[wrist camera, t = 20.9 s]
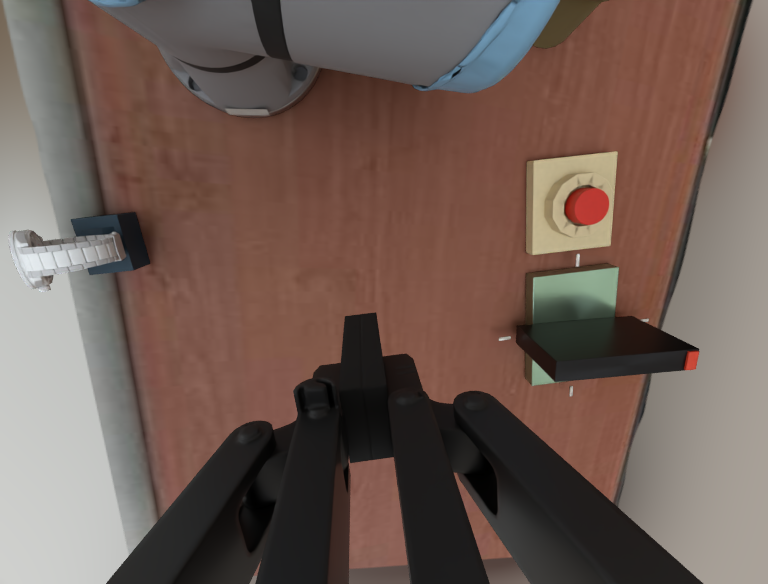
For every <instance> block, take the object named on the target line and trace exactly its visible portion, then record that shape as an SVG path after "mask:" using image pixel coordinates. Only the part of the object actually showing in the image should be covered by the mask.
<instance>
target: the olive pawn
mask: <svg viewBox="0 0 768 584" xmlns="http://www.w3.org/2000/svg"><path fill="white" fill-rule="evenodd" d="M604 1H608V0H560V2H559V4H558V5H557V7H556V9H555V11H554V12H553V14H552V16H551V18H550V19H549V21H548V23H547V24H546V26H545V27H544V29H543V30H542V32H541V33H540V35H539V37H538V38H537V40H536V41H535V42H534V44H533V45H534V46H535V47H539V48H550V47H554V46H556V45H558V44H559V43H561V42H563V41H564V40H565V39H566V38H567V37H568V36H569V35H570V34H571V33H572V32H573V31H574V30H575V29H576V28H577V27H578V26H579V25H580V24H581V23H582V22H583V21H584V19H585V18H586V17H587V16H588V15H589V14H590V13H591V12H592V11H593V10H594V9H595V8H596V7H597V6H598V5H599V4H600V3H601V2H604Z"/></svg>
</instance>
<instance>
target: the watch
mask: <svg viewBox="0 0 768 584" xmlns="http://www.w3.org/2000/svg"><path fill="white" fill-rule="evenodd" d="M71 222H72V225H73V228H74V231H75V234H76V236H77V237H72V238H63V239H62V240H61V239H55V240H48V241H43V239H42V237H40V236H38V235H37V234H36V233H35V232H34V231H31V230H25V231H10V233H9V247H10V251H11V255H12V258H13V261H14V265H15V266H16V268H17V270H18V272H19V274H20V276H21V278H22V279H23V281H24V282H25V284H26V285H27V286H28V287H30V288H32V289H35V288H37V287H38V289H39V292H44V291H48V290H51V289H50V286H49V284H51V283H52V280H53V275H55V274H62V273H67V272H73V271H78V270H82V269H86V268H88V271H89V274H90V275H94V274H103V273H113V272H122V271H131V270H135V269H138V268H140V267H143V266H146V265H148V264H150V261H149V257H148V254H147V250H146V247H145V244H144V240H143V237H142V233H141V230H140V226H139V223H138V220H137V216H136V213H135V212H132V213H122V214H112V215H102V216H93V217H85V218H78V219H71ZM74 238H75V240H74ZM62 241H63V242H62ZM75 241H76V242H75ZM67 243H68V244H67ZM71 262H72V263H71ZM72 264H73V265H72ZM82 264H83V265H82ZM83 267H84V268H83Z"/></svg>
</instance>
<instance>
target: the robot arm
mask: <svg viewBox="0 0 768 584" xmlns="http://www.w3.org/2000/svg"><path fill="white" fill-rule="evenodd" d="M89 1H90V2H92V3H93V4H95V5H96V6H98V7H99V8H101V9H102V10H104V11H105V12H107V13H108V14H110V15H111V16H113V17H114V18H116V19H117V20H119V21H120V22H122V23H123V24H125V25H127V26H128V27H130V28H131V29H133V30H134V31H136V32H137V33H139V34H140V35H142V36H143V37H145V38H146V39H148V40H149V41H151V42H152V43H154V44H155V45H157V46H158V48H159V50H160V52H161V54H162V56H163V58H164V60H165V61H166V63H167V65H168V66H169V68H170V69H171V70H172V72H173V73H174V74H175V76H176V77H177V78H178V79H179V80H180V82H181V83H182V84H183V85H184V86H185V87H186V88H187V89H188V90H189V91H191V92H192V93H193V94H194V95H195V96H197V97H198V98H199V99H201V100H202V101H204V102H206V103H207V104H209V105H211V106H213V107H215V108H217V109H219V110H221V111H223V112H226V113H228V114H229V115H235V116H239V117H245V118H263V117H269V116H273V115H276V114H279V113H281V112H284V111H286V110H288V109H290V108H291V107H293V106H294V105H296V104H297V103H298V102H299V101H300V100H302V99H303V98H304V97H305V95H306V94H307V93H308V92H309V91H310V89H311V88H312V87H313V85H314V84H315V82H316V80H317V78H318V76H319V74H320V72H321V69H322V68H326V69H331V70H336V71H342V72H347V73H353V74H358V75H363V76H369V77H374V78H379V79H385V80H390V81H395V82H401V83H406V84H411V85H412V86H413V87H414V88H415V89H417V90H421V91H428V90H435V89H440V90H447V91H454V92H461V93H475V92H479V91H480V90H483V89H486V88H488V87H491V86H493V85H495V84H496V83H498V82H499V81H500V80H502V79H503V78H504V77H505V76H506V75H508V74H509V73H510V72H511V71H512V70H513V69H514V68H515V67H516V65H517V64H518V63H519V62H520V61H521V60H522V58H523V57H524V56H525V55H526V53H527V52H528V51H529V49H530V48H531V47H532V45H533V44H534V42H535V41H536V40H537V38H538V37H539V35H540V33H541V32H542V30H543V29H544V27H545V26H546V24H547V23H548V21H549V19H550V18H551V16H552V14H553V12H554V11H555V9H556V7H557V5H558V4H559V2H560V0H89ZM293 392H294V397H295V402H296V407H297V412H298V416H297V420H296V421H294V422H293V423H291V424H289V425H286V426H284V427H281V428H278V429H275V430H273V428H272V425H271V424H270V423H269V422H266V421H253V422H249V423H246V424H244V425H242V426H240V427H238V428H237V429H235V430H234V431H233V432H232V433H231V434H230V435H229V436H228V437H227V439H226V440H225V441H224V442H223V443H222V445H221V446H220V447H219V448H218V449H217V451H216V452H215V453H214V454H213V455H212V457H211V458H210V459H209V460H208V461H207V463H206V464H205V465H204V466H203V467H202V469H201V470H200V471H199V472H198V473H197V475H196V476H195V477H194V478H193V480H192V481H191V482H190V483H189V484H188V486H187V487H186V488H185V489H184V490H183V492H182V493H181V494H180V495H179V496H178V498H177V499H176V500H175V501H174V502H173V504H172V505H171V506H170V507H169V508H168V510H167V511H166V512H165V513H164V514H163V516H162V517H161V518H160V519H159V520H158V522H157V523H156V524H155V525H154V526H153V528H152V529H151V530H150V531H149V532H148V534H147V535H146V536H145V537H144V538H143V540H142V541H141V542H140V543H139V544H138V546H137V547H136V548H135V549H134V550H133V552H132V553H131V554H130V555H129V557H128V558H127V559H126V560H125V561H124V563H123V564H122V565H121V566H120V567H119V569H118V570H117V571H116V572H115V573H114V575H113V576H112V577H111V578H110V579H109V581H108V582H107V583H106V584H249V583H250V581H251V579H252V577H253V575H254V573H255V571H256V569H257V567H258V565H259V563H260V561H261V564H260V568H259V572H258V576H257V580H256V584H349V583H348V582H349V532H350V477H351V475H350V469H349V463H348V460H349V459H350V463H354V462H361V461H368V460H375V459H382V458H390V457H394V461H395V469H396V477H397V486H398V492H399V500H400V507H401V515H402V523H403V530H404V538H405V546H406V554H407V561H408V569H409V576H410V584H489V580H488V577H487V574H486V571H485V568H484V565H483V562H482V559H481V556H480V553H479V550H478V547H477V544H476V540H475V537H474V534H473V531H472V528H471V525H470V522H469V519H468V516H467V513H466V510H465V507H464V504H463V501H462V498H461V495H460V492H459V488H458V485H457V482H456V479H455V476H454V473H453V472H455V473H457V474H458V477H459V479H460V481H461V482H462V484H463V485H464V487H465V488H466V490H467V491H468V493H469V494H470V495H471V497H472V498H473V500H474V501H475V503H476V504H477V506H478V507H479V509H480V510H481V512H482V513H483V515H484V516H485V517H486V519H487V520H488V522H489V523H490V525H491V526H492V528H493V529H494V531H495V532H496V534H497V535H498V537H499V538H500V540H501V541H502V542H503V544H504V545H505V547H506V548H507V550H508V551H509V553H510V554H511V556H512V557H513V559H514V560H515V562H516V563H517V564H518V566H519V567H520V569H521V570H522V572H523V573H524V575H525V576H526V578H527V579H528V581H529V582H530V583H531V584H703V583H702V582H701V581H700V580H699V579H697V578H696V577H695V576H694V575H693V574H692V573H691V572H690V571H689V570H687V569H686V568H685V567H684V566H683V565H682V564H681V563H679V562H678V561H677V560H676V559H675V558H674V557H673V556H672V555H671V554H669V553H668V552H667V551H666V550H665V549H664V548H663V547H662V546H660V545H659V544H658V543H657V542H656V541H655V540H654V539H653V538H651V537H650V536H649V535H648V534H647V533H646V532H645V531H644V530H642V529H641V528H640V527H639V526H638V525H637V524H636V523H635V522H634V521H632V520H631V519H630V518H629V517H628V516H627V515H626V514H624V513H623V512H622V511H621V510H620V509H619V508H618V507H617V506H616V505H614V504H613V503H612V502H611V501H610V500H609V499H608V498H607V497H605V496H604V495H603V494H602V493H601V492H600V491H599V490H598V489H596V488H595V487H594V486H593V485H592V484H591V483H590V482H589V481H588V480H586V479H585V478H584V477H583V476H582V475H581V474H580V473H579V472H577V471H576V470H575V469H574V468H573V467H572V466H571V465H570V464H568V463H567V462H566V461H565V460H564V459H563V458H562V457H561V456H559V455H558V454H557V453H556V452H555V451H554V450H553V449H552V448H550V447H549V446H548V445H547V444H546V443H545V442H544V441H543V440H541V439H540V438H539V437H538V436H537V435H536V434H535V433H534V432H533V431H531V430H530V429H529V428H528V427H527V426H526V425H525V424H524V423H522V422H521V421H520V420H519V419H518V418H517V417H516V416H515V415H513V414H512V413H511V412H510V411H509V410H508V409H507V408H506V407H504V406H503V405H502V404H501V403H500V402H499V401H498V400H497V399H495V398H494V397H493V396H491V395H490V394H488V393H484V392H481V391H468V392H463V393H461V394H459V395H457V397H456V398H455V399H454V402H453V404H446V403H439V402H436V401H433V400H431V399H429V397H428V395H427V394H426V392H425V391H423V388H422V385H421V382H420V379H419V376H418V373H417V369H416V367H415V363H414V360H413V358H411V357H410V356H409V355H407V354H399V355H391V356H384V357H382V350H381V343H380V336H379V329H378V322H377V315H376V313H368V314H360V315H352V316H345V322H344V334H343V345H342V356H341V363H337V364H329V365H321V366H319V368H318V369H317V370H316V371H315V372H314V374H313V378H312V379H308V380H306V381H304V382H302V383H300V384H299V385H298V386H296V388H295V389H294V391H293ZM261 559H262V560H261Z"/></svg>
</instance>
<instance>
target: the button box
mask: <svg viewBox="0 0 768 584" xmlns="http://www.w3.org/2000/svg"><path fill="white" fill-rule="evenodd" d="M617 153H618V152H617V151H615V152H606V153H597V154H588V155H579V156H570V157H561V158H552V159H543V160H534V161H527V189H526V252H527V253H529V254H531V255H537V254H546V253H554V252H562V251H570V250H579V249H587V248H595V247H604V246H610V245H611V232H612V219H613V206H614V192H615V179H616V166H617ZM580 188H598V189H601V190H603V191H604V192H605V193H606V194H607V196H608V198H609V210H608V212H607V214H606V216H605V217H604V218H603V219H602V220H601V221H600V222H598V223H596V224H593V225H584V224H579V223H574V222H572V221H571V220H569V218H568V217H567V215H566V213H565V204H566V201H567V199H568V197H569V196H570V195H571V194H572V193H573V192H574V191H576V190H577V189H580Z"/></svg>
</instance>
